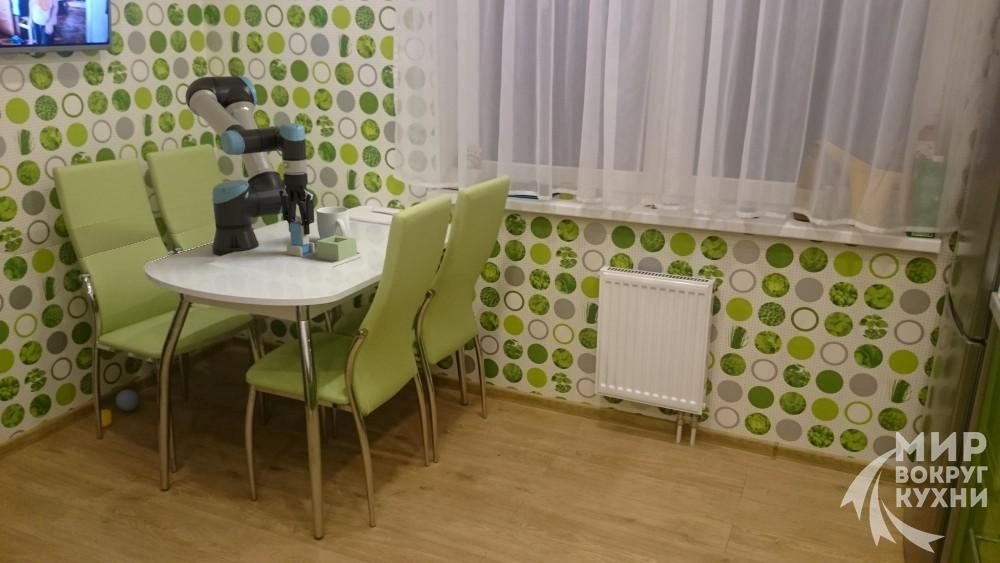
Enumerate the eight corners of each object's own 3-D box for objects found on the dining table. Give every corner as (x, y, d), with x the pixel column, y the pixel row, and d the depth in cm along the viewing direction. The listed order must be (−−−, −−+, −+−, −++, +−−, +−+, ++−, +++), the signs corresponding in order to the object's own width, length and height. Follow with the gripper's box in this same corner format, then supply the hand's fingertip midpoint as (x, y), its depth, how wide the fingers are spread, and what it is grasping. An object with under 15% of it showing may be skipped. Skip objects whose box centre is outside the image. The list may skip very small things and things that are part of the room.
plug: (292, 252, 267) (289, 217, 263) (300, 249, 270) (298, 214, 266) (301, 254, 265) (298, 218, 261) (309, 251, 268) (307, 216, 265)
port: (317, 257, 262) (316, 241, 261) (335, 251, 270) (334, 235, 268) (338, 261, 258) (337, 244, 256) (356, 254, 265) (356, 238, 264)
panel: (286, 258, 266) (285, 245, 265) (315, 249, 278) (314, 236, 276) (332, 267, 257) (331, 253, 255) (360, 257, 268) (360, 244, 267)
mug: (360, 250, 277) (358, 212, 273) (329, 254, 271) (327, 216, 267) (343, 240, 289) (341, 205, 285) (313, 245, 283) (311, 208, 279)
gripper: (267, 171, 260) (272, 241, 267) (307, 176, 252) (311, 249, 259) (284, 168, 267) (289, 237, 274) (323, 173, 259) (327, 243, 266)
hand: (300, 242), depth 267 cm, fingers closed on plug, 4 cm apart
